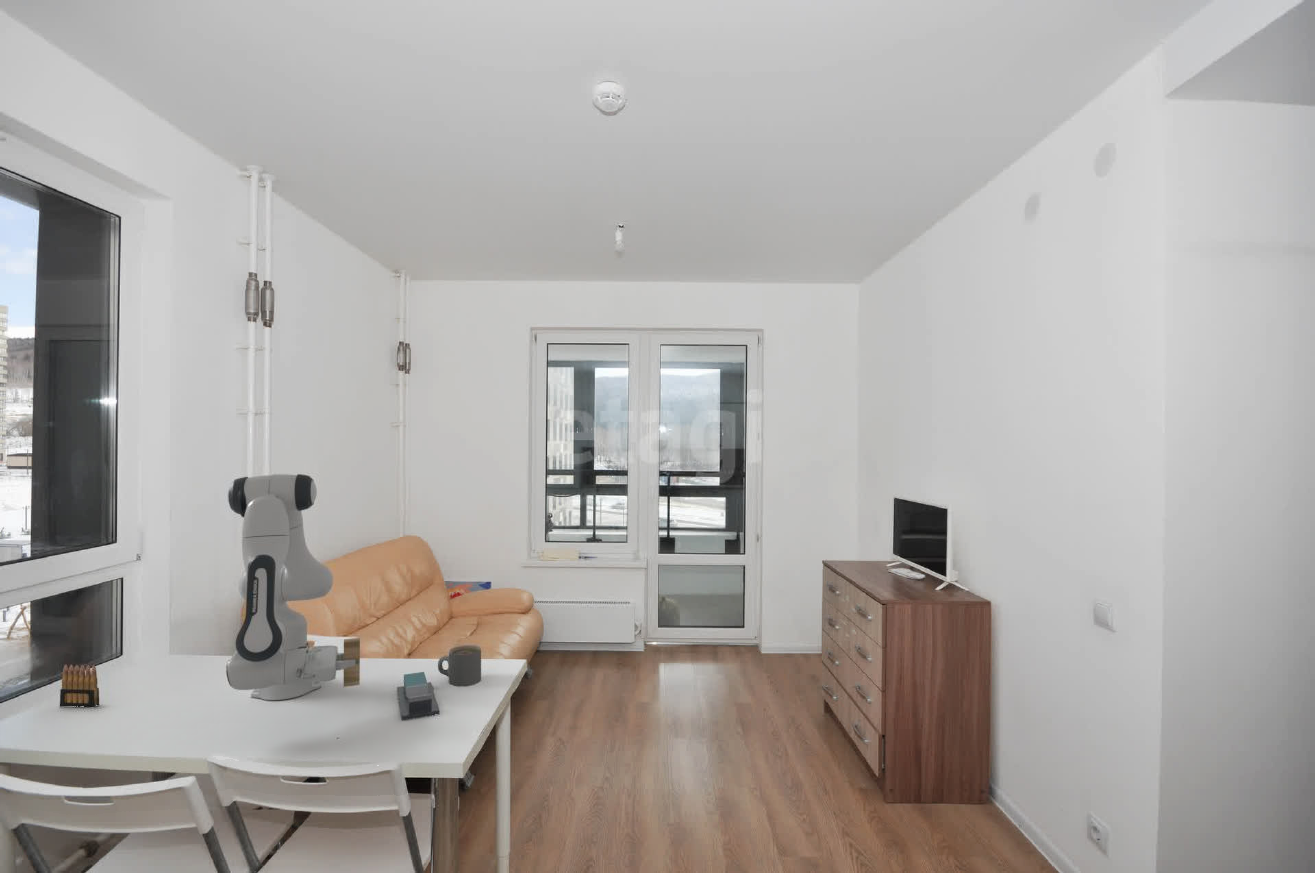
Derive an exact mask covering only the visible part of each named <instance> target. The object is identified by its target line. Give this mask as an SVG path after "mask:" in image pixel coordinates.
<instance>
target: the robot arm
mask: <svg viewBox="0 0 1315 873" xmlns="http://www.w3.org/2000/svg"><path fill="white" fill-rule="evenodd" d="M317 493H318V490H317V486H316V483H315V481H314V479H313V478H312V477H311V476H310V475H307V474H301V473H299V474H298V473H297V474H289V473H287V474H286V473H285V474H283V473H280V474H278V473H277V474H275V473H274V474H269V475H266V474H265V475H256V476H250V477H248V476H244V477H243V476H242V477H238V478H235V479H234V480H233V481H232V482H231V483H230V485H229V488H228V491H227V503H228V504H229V507H230V509H231V510H232V511H233V512H234V513H235V514H237V515H240V516H241V518H243V523H242V530H241V550H242V551H241V552H242V561H243V565H244V570H245V572H244V573H243V574H242V575H241V577H240V579H239V582H238V590H239V594H240V595H241V598H243V599H244V600H245V602H246V603H245V615H244V621H243V624H242V626H241V628H240V629H239V630H238V631H239V632H238V633H237V635H236V638H235V651H234V654H233V655H232V656H231V657H230V659H229V660H228V661H227V663H226V666H225V667H226V670H225V671H226V672H225V673H226V678H227V682H228V685H229V686H230V687H231V688H232V689H234V690H237V691H250V690H252V692H251V693H250V698H255V699H256V698H258V699H262V700H263V701H264V700H265V701H279V700H280V701H282V700H288V699H294V698H298V697H300V696H303V695H305V694H308V693H310V692H312V691H314V690H317V689H321V688H322V684H321V682H323V683H324V682H330V681H333V680H335V679H336V677H337V671H341V670H344V669H345V668H348V667H354V666H355V659H348V660H345V661H344V652H339V648H338V646H337V645H330V644H329V645H316V646H310V645H309V643H308V621H307V618H306V617H305V615H303V614H302V613H300V612H298V611H296V610H293V609H292V608H291V607H290V606H289V605H288V603H287V602H293V601H294V602H297V601H311V600H315V599H319V598H322V597H323V598H324V597H325V596H326V595H328V593H329V592H330V591H331V590H332V587H333V584H334V576H333V573H332V571H331V569H330V568H329V567H328V566H327V565H325V564H323V563H322V562H320V561H318V560H317V559H316V558H315V557H314V556H313V554H312V553H311V552H310V550H309V548H308V546H307V543H306V538H305V531H304V520H303V512H302V511H305V510H308V509H310V508H311V507H312V506H313V505H314V504H315V500H316V498H317ZM309 646H310V647H309Z"/></svg>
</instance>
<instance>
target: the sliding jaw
mask: <svg viewBox="0 0 1315 873" xmlns="http://www.w3.org/2000/svg"><path fill="white" fill-rule="evenodd" d="M427 683H428V681H427V677H426V674H425V671H419V672H414V673H413V672H412V673H405V674H403V686H404V688H405V693H406V698H408V697H415V696H421V695H428V684H427Z"/></svg>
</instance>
